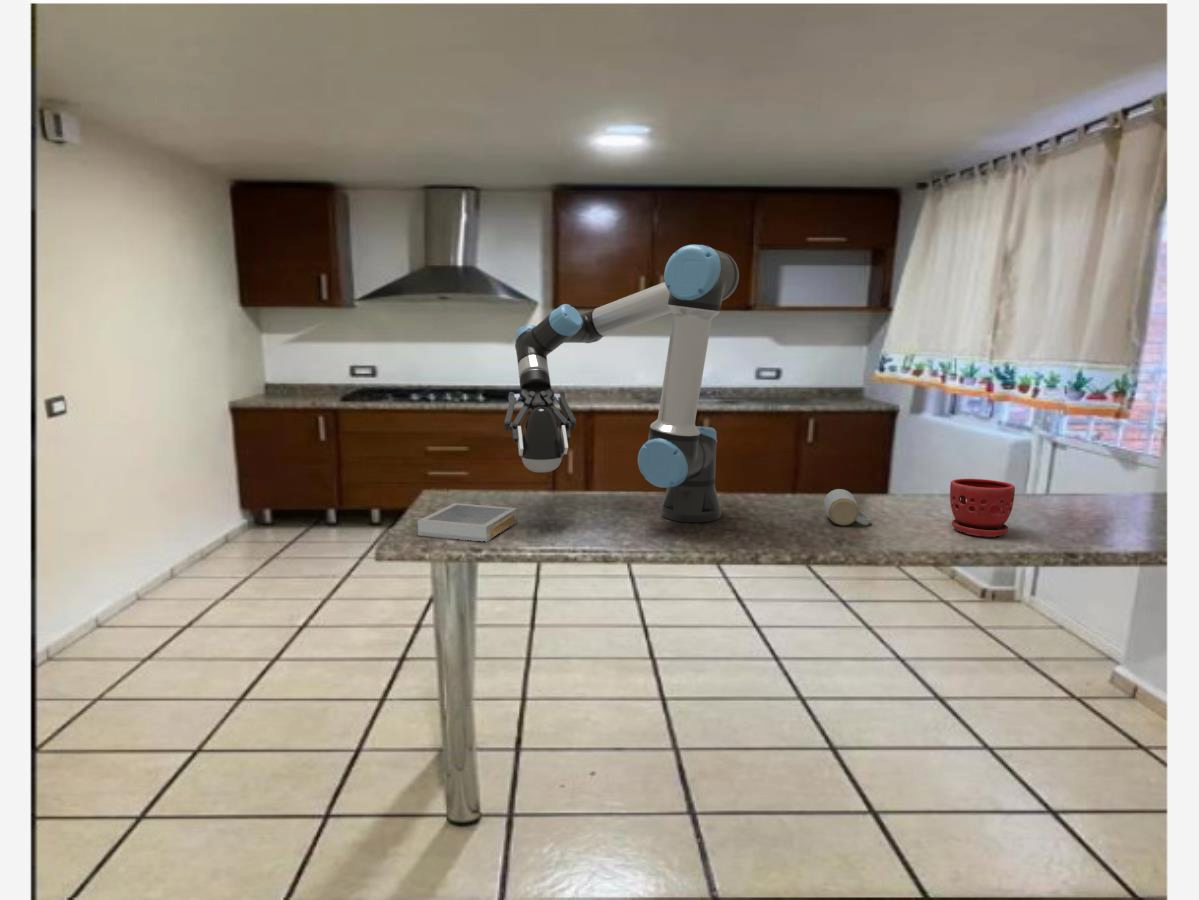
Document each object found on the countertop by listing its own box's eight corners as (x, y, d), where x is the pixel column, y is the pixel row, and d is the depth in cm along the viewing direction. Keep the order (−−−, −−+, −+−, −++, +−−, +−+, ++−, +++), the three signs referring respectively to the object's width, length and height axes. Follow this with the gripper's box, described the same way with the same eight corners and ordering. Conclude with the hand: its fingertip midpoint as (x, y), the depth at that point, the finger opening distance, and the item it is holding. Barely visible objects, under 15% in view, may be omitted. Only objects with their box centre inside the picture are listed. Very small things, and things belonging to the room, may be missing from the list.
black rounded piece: (571, 468, 160) (571, 405, 157) (550, 476, 151) (549, 409, 148) (534, 464, 164) (534, 403, 161) (512, 472, 155) (510, 407, 152)
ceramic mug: (827, 526, 161) (829, 495, 160) (822, 517, 169) (824, 487, 167) (873, 529, 159) (876, 498, 158) (866, 520, 167) (869, 490, 166)
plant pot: (1016, 531, 157) (1022, 482, 155) (1000, 543, 148) (1006, 491, 146) (956, 521, 166) (961, 474, 164) (938, 531, 157) (943, 482, 155)
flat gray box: (518, 522, 162) (518, 508, 162) (488, 542, 146) (487, 527, 145) (453, 516, 167) (452, 502, 166) (416, 535, 151) (416, 520, 150)
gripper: (576, 387, 171) (588, 459, 159) (488, 388, 166) (494, 462, 154) (580, 368, 165) (593, 440, 153) (489, 367, 160) (495, 443, 148)
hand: (543, 451), depth 153 cm, fingers closed on black rounded piece, 10 cm apart
